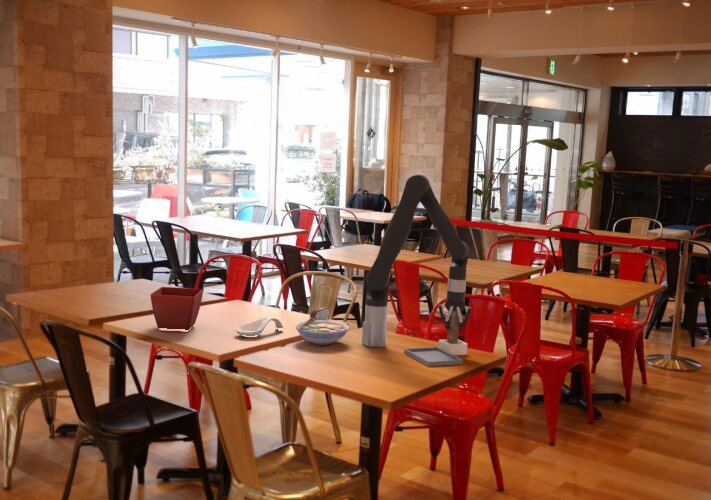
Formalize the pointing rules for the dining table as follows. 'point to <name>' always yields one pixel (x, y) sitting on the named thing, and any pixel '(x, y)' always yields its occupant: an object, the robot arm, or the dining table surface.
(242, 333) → the spoon rest
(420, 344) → the dining table surface
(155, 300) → the plant pot
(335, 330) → the ramen bowl
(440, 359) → the tray
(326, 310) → the soup spoon
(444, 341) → the square frame
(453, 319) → the peg
